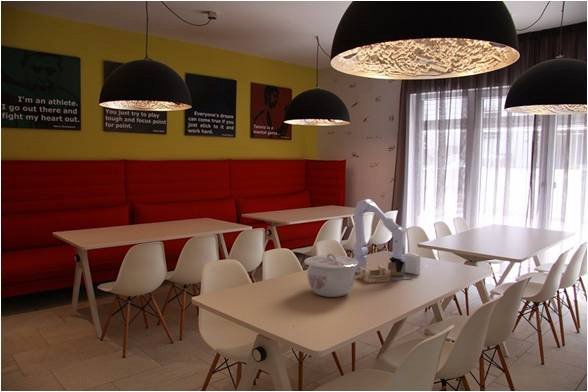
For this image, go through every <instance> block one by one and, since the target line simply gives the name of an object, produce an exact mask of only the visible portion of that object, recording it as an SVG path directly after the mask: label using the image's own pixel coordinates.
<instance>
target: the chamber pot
mask: <svg viewBox="0 0 588 392" xmlns="http://www.w3.org/2000/svg"><path fill="white" fill-rule="evenodd" d="M303 263H304V264H305V265H307V266H308V268H307V269H306V277H307V283H308V285H309V286H310V289H311V290H312V292H313V293H314V294H316V295H318V296H320V297H325V298H339V297H342V296H346V295H347V294H348V293H349V292H350V290H351V289H352V288H353V286H354V283H355V279H356V272H355V270H354V268H353V267H354V266H356V265H358V261H357V260H355V259H353V257H348V256H344V255H337V254H333V253H332V252H331V253H328V254H320V255H314V256H310V257H306V258H305V259H304V261H303Z"/></svg>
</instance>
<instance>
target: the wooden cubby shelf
mask: <svg viewBox="0 0 588 392" xmlns="http://www.w3.org/2000/svg"><path fill="white" fill-rule="evenodd" d="M358 277H359V279H361V280H363V281H365V282H367V283H368V284H375V282H376V283H386V282H387V281H388V282H391V279H390V277H391V271H390V270H388V268H386V267H384V266H382V265H378V267H377V269H369V270H365V269H363V268H361V267H359V273H358Z"/></svg>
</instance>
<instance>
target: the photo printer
mask: <svg viewBox="0 0 588 392" xmlns="http://www.w3.org/2000/svg"><path fill="white" fill-rule="evenodd" d="M404 254H405V255H404V258H405V262H404V263H405V273H408V274H411V275H416V276H419V275H420V274H421V255H419V254H417V253H415V252H405V253H404Z"/></svg>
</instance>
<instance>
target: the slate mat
mask: <svg viewBox="0 0 588 392" xmlns="http://www.w3.org/2000/svg"><path fill="white" fill-rule="evenodd" d="M407 279H408V280H412V277H409V276H407V275H406V274H405V275H398V276H391V277H390V280H391V281H395V280H396V281H404V280H405V281H406V280H407Z"/></svg>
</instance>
